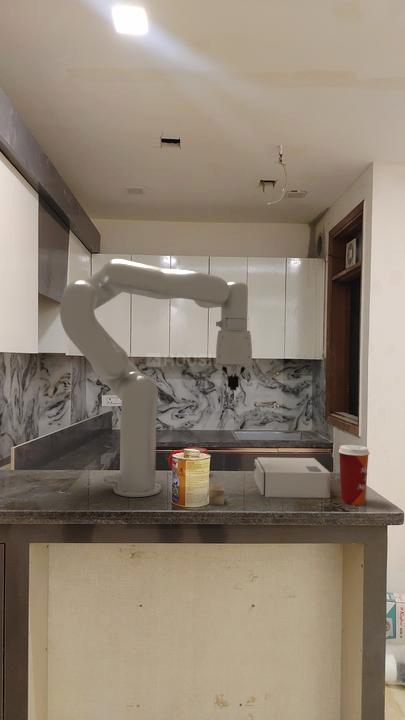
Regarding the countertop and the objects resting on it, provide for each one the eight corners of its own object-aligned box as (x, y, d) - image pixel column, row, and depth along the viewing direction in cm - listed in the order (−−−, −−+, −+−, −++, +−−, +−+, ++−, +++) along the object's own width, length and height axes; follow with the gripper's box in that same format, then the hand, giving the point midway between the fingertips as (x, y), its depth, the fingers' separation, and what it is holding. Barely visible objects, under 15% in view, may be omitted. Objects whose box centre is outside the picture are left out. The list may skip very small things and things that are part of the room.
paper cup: (371, 507, 115) (372, 450, 115) (338, 505, 117) (339, 449, 117) (366, 498, 123) (367, 445, 123) (336, 496, 125) (337, 443, 125)
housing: (265, 496, 123) (265, 471, 123) (257, 479, 141) (257, 456, 141) (330, 497, 123) (330, 472, 123) (313, 479, 141) (313, 457, 141)
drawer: (259, 494, 124) (260, 472, 124) (253, 479, 140) (253, 459, 140) (324, 495, 124) (324, 473, 124) (310, 480, 140) (310, 459, 140)
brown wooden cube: (209, 504, 116) (209, 490, 116) (209, 500, 120) (209, 486, 120) (223, 504, 116) (224, 490, 116) (223, 500, 120) (223, 486, 120)
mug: (170, 471, 149) (170, 446, 149) (207, 472, 148) (208, 447, 148) (166, 477, 141) (166, 451, 141) (205, 478, 140) (206, 452, 140)
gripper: (208, 324, 131) (207, 390, 131) (261, 325, 131) (260, 391, 131) (207, 326, 138) (206, 388, 138) (258, 327, 138) (257, 389, 138)
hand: (233, 389), depth 135 cm, fingers closed
